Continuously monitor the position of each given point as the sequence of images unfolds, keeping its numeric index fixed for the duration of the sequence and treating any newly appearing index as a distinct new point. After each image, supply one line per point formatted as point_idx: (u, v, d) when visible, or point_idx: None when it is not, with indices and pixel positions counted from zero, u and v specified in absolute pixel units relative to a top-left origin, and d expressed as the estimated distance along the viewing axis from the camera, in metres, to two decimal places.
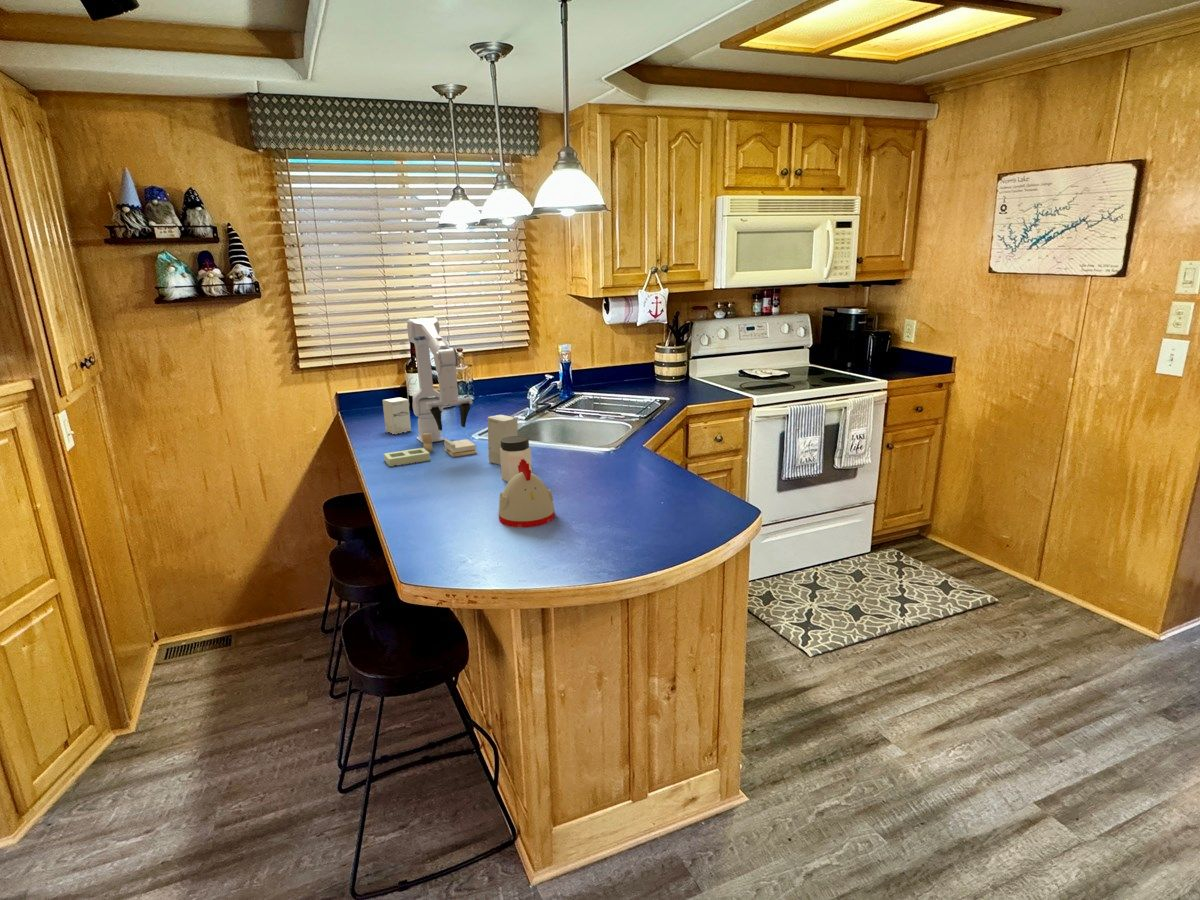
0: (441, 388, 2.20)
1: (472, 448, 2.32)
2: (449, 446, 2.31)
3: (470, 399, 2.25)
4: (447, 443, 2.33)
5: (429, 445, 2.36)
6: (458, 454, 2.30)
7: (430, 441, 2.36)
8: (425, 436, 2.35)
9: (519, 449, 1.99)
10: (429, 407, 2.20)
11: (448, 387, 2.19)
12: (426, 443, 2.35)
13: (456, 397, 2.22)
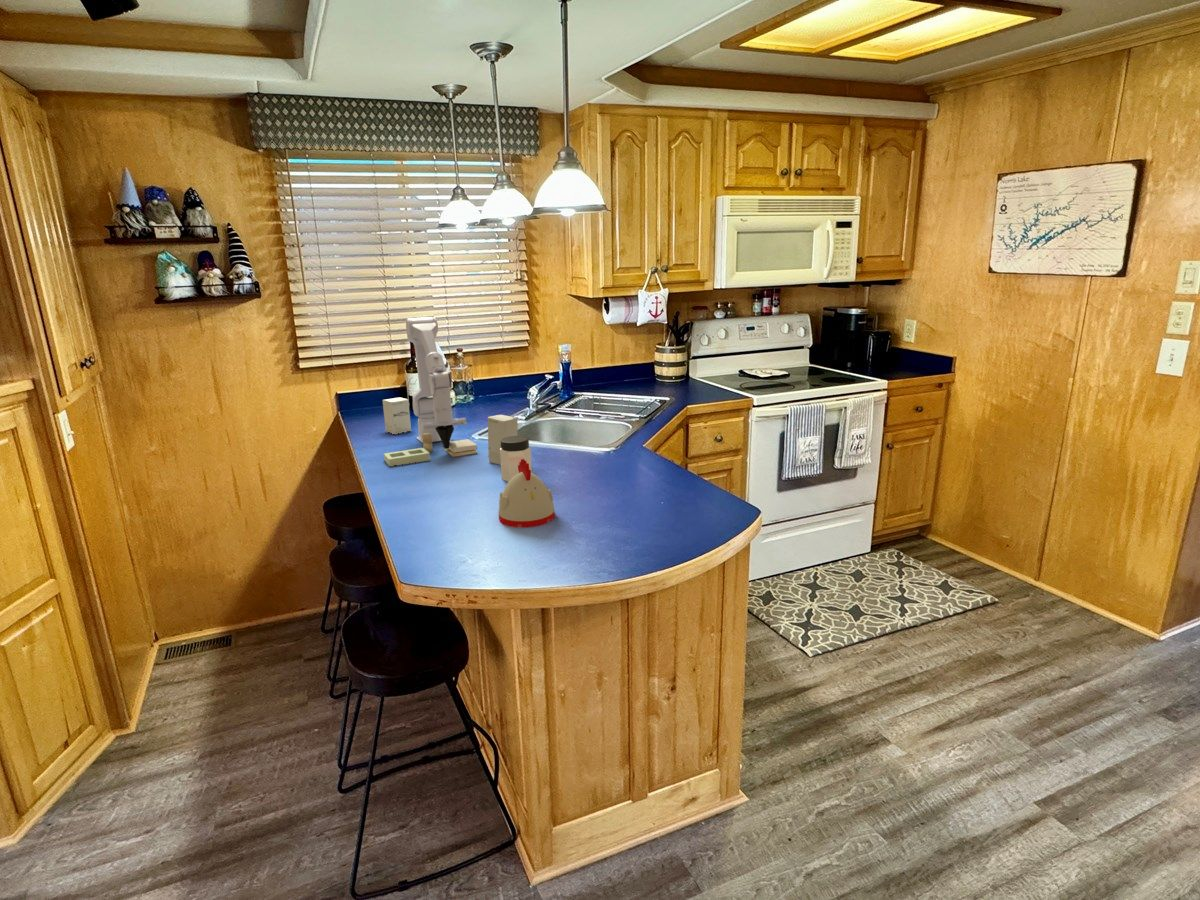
0: (435, 409, 2.27)
1: (473, 448, 2.32)
2: (450, 446, 2.32)
3: (464, 420, 2.32)
4: None
5: (429, 445, 2.36)
6: (458, 454, 2.30)
7: (430, 441, 2.36)
8: (425, 436, 2.35)
9: (519, 449, 1.99)
10: (424, 428, 2.26)
11: (442, 409, 2.26)
12: (426, 443, 2.35)
13: (450, 418, 2.29)
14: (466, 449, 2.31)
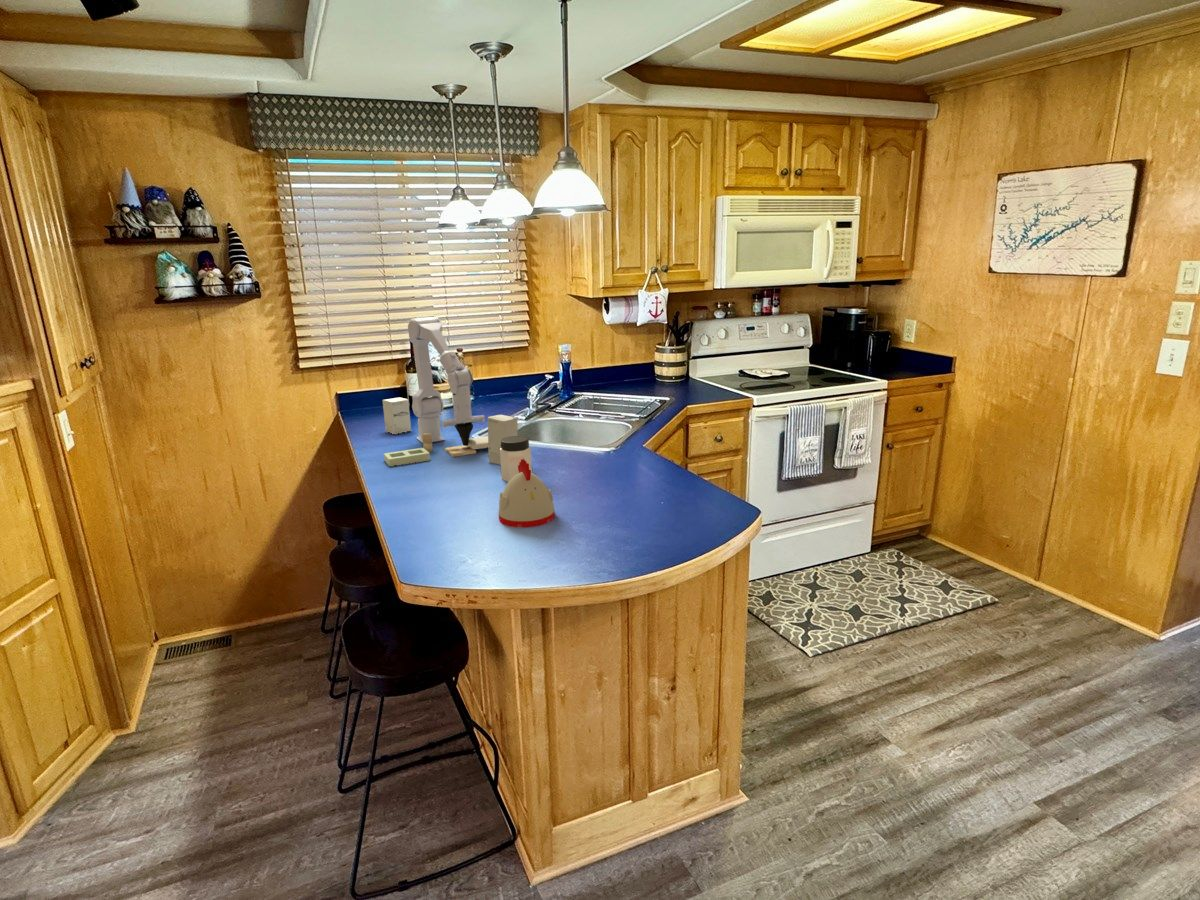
0: (455, 407, 2.30)
1: None
2: (470, 443, 2.35)
3: (483, 417, 2.35)
4: None
5: (429, 445, 2.36)
6: (458, 454, 2.30)
7: (430, 441, 2.36)
8: (425, 436, 2.35)
9: (519, 449, 1.99)
10: (444, 425, 2.29)
11: (464, 406, 2.29)
12: (426, 443, 2.35)
13: (470, 415, 2.32)
14: (485, 446, 2.34)
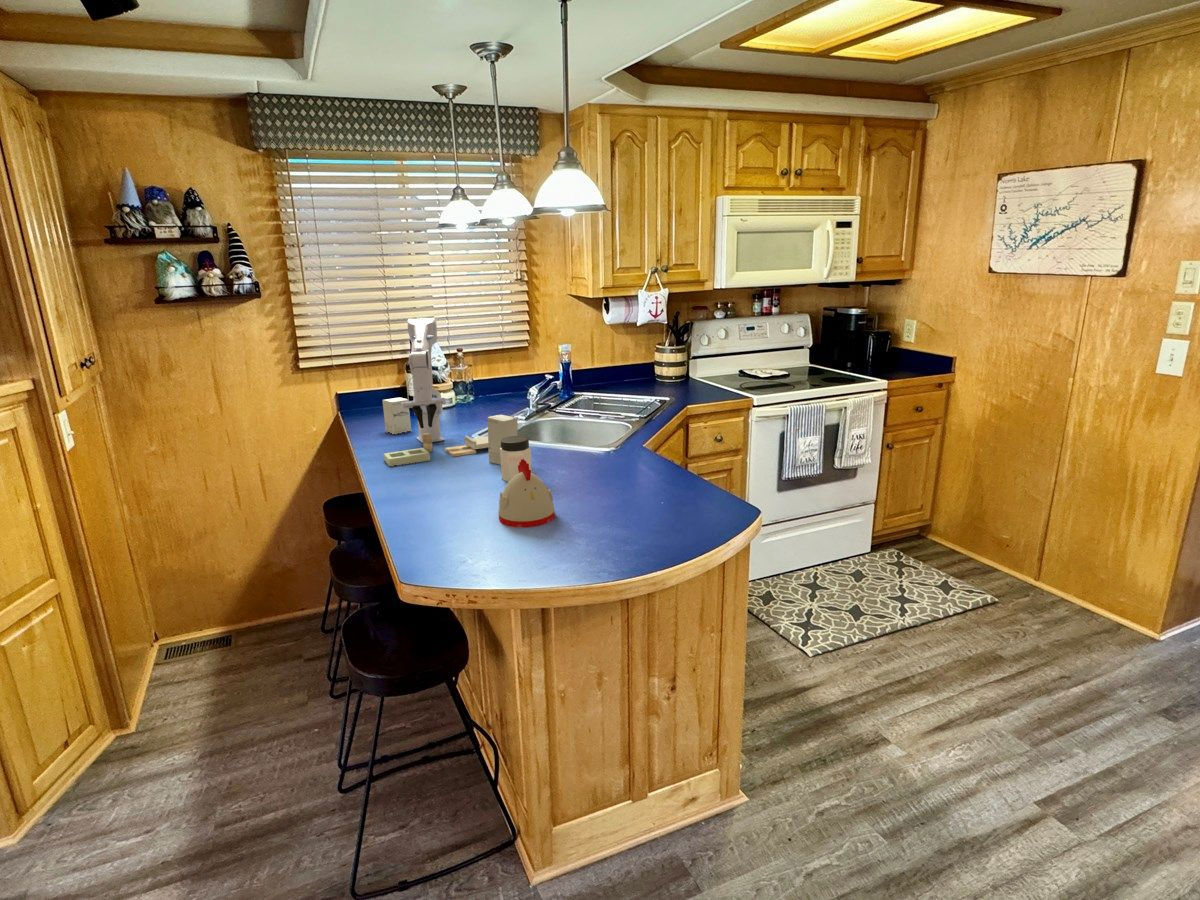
0: (415, 389, 2.29)
1: None
2: (470, 443, 2.35)
3: (443, 399, 2.35)
4: (468, 440, 2.36)
5: (429, 445, 2.36)
6: (458, 454, 2.30)
7: (430, 441, 2.36)
8: (425, 436, 2.35)
9: (519, 449, 1.99)
10: (403, 407, 2.29)
11: (419, 388, 2.29)
12: (426, 443, 2.35)
13: (430, 397, 2.31)
14: (485, 446, 2.34)
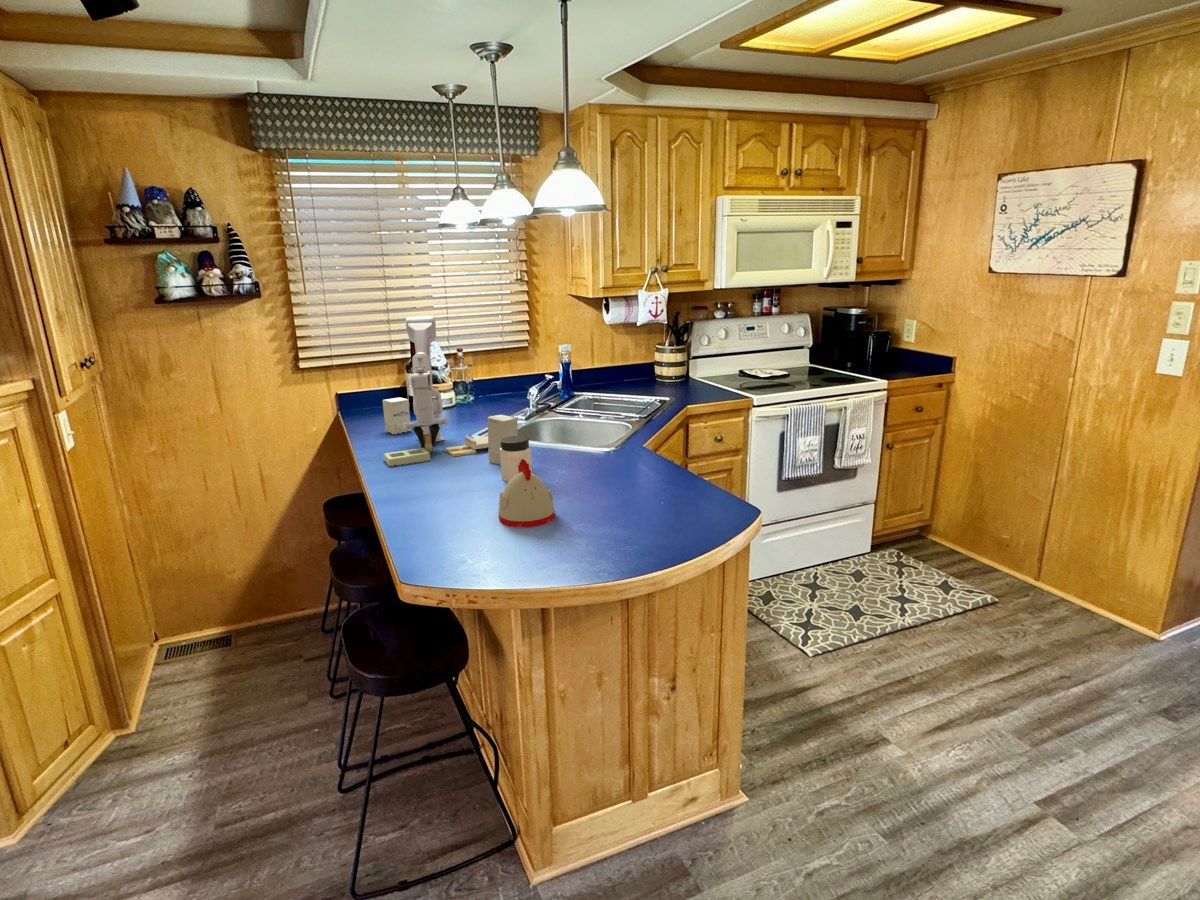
0: (417, 409, 2.31)
1: None
2: (470, 443, 2.35)
3: (445, 419, 2.37)
4: (468, 440, 2.36)
5: (429, 445, 2.36)
6: (458, 454, 2.30)
7: (430, 441, 2.36)
8: (425, 436, 2.35)
9: (519, 449, 1.99)
10: (406, 428, 2.31)
11: (421, 409, 2.31)
12: (426, 443, 2.35)
13: (431, 418, 2.33)
14: (485, 446, 2.34)
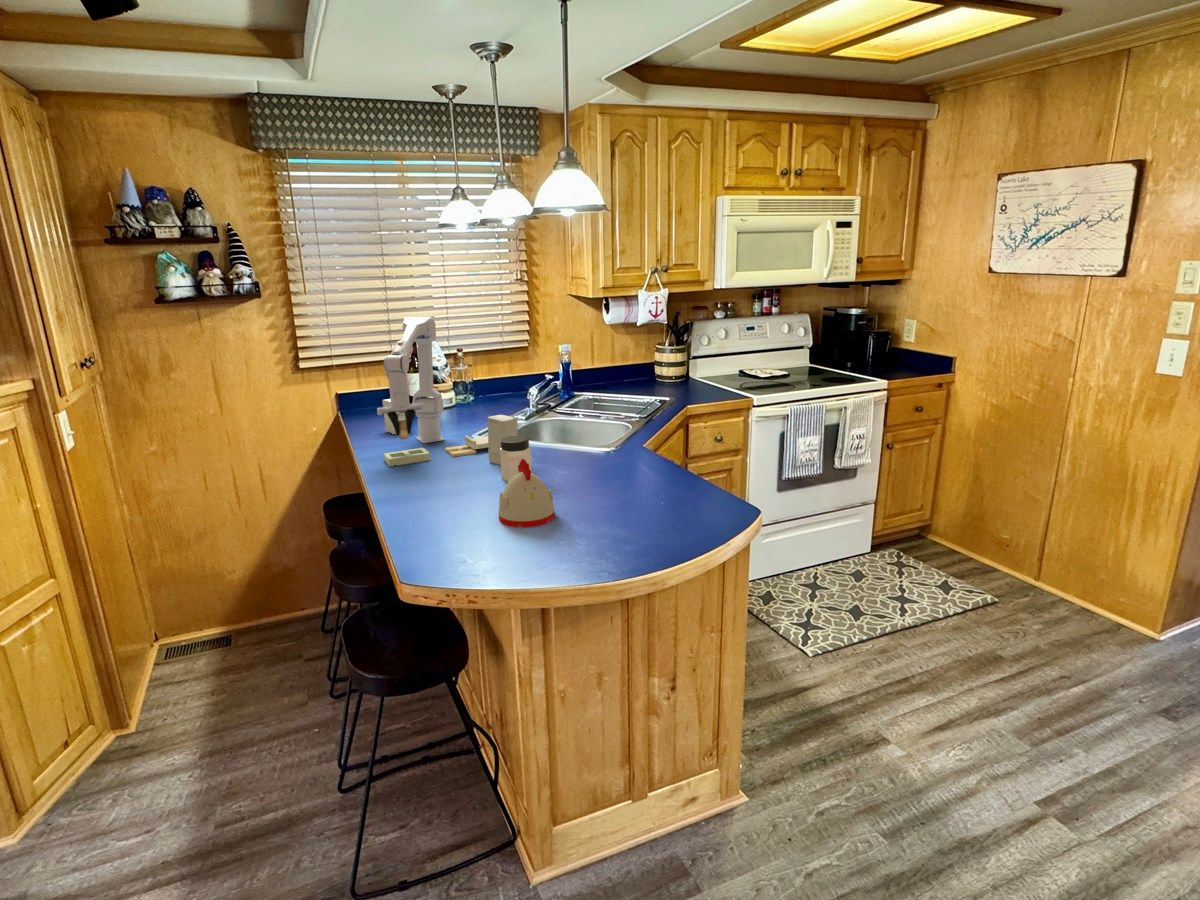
0: (391, 394, 2.20)
1: None
2: (470, 443, 2.35)
3: (421, 405, 2.26)
4: (468, 440, 2.36)
5: (404, 432, 2.25)
6: (458, 454, 2.30)
7: (405, 428, 2.25)
8: (400, 422, 2.24)
9: (519, 449, 1.99)
10: (379, 413, 2.20)
11: (393, 393, 2.20)
12: (401, 429, 2.24)
13: (407, 403, 2.22)
14: (485, 446, 2.34)
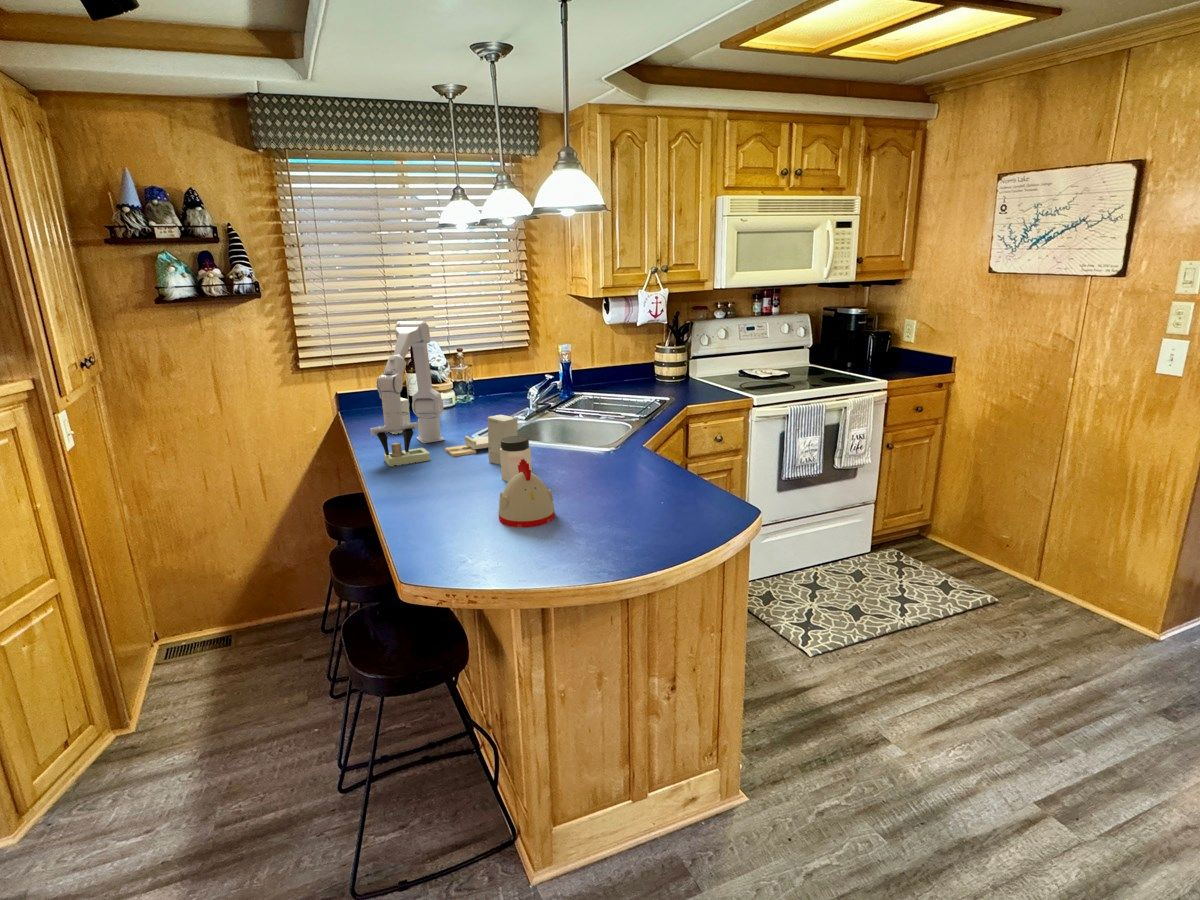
0: (385, 414, 2.19)
1: None
2: (470, 443, 2.35)
3: (415, 424, 2.25)
4: (468, 440, 2.36)
5: None
6: (458, 454, 2.30)
7: (399, 451, 2.24)
8: (394, 446, 2.23)
9: (519, 449, 1.99)
10: (373, 433, 2.19)
11: (386, 413, 2.19)
12: (395, 453, 2.23)
13: (400, 422, 2.21)
14: (485, 446, 2.34)
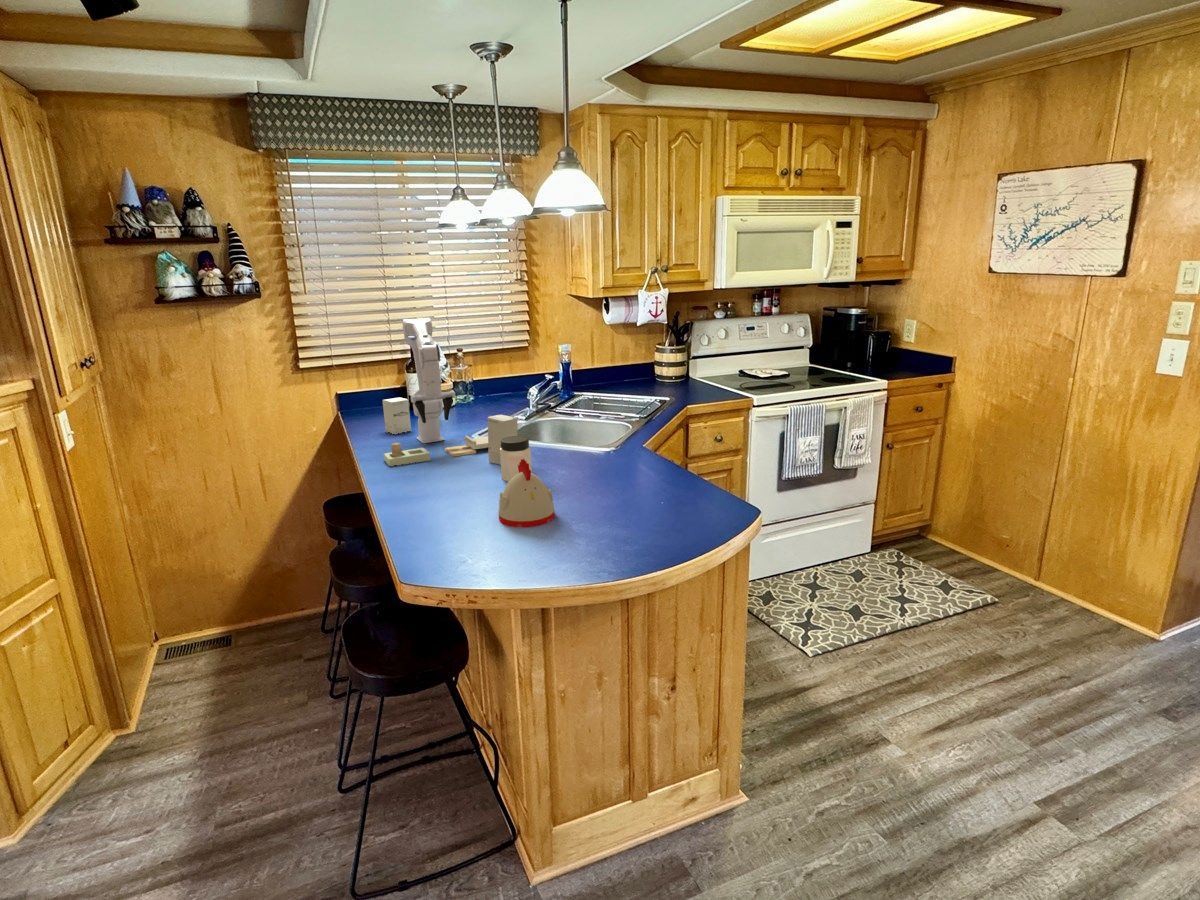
0: (425, 382, 2.29)
1: None
2: (470, 443, 2.35)
3: (453, 393, 2.35)
4: (468, 440, 2.36)
5: None
6: (458, 454, 2.30)
7: (399, 451, 2.24)
8: (394, 446, 2.23)
9: (519, 449, 1.99)
10: (413, 401, 2.29)
11: (430, 381, 2.28)
12: (395, 453, 2.23)
13: (439, 391, 2.31)
14: (485, 446, 2.34)
